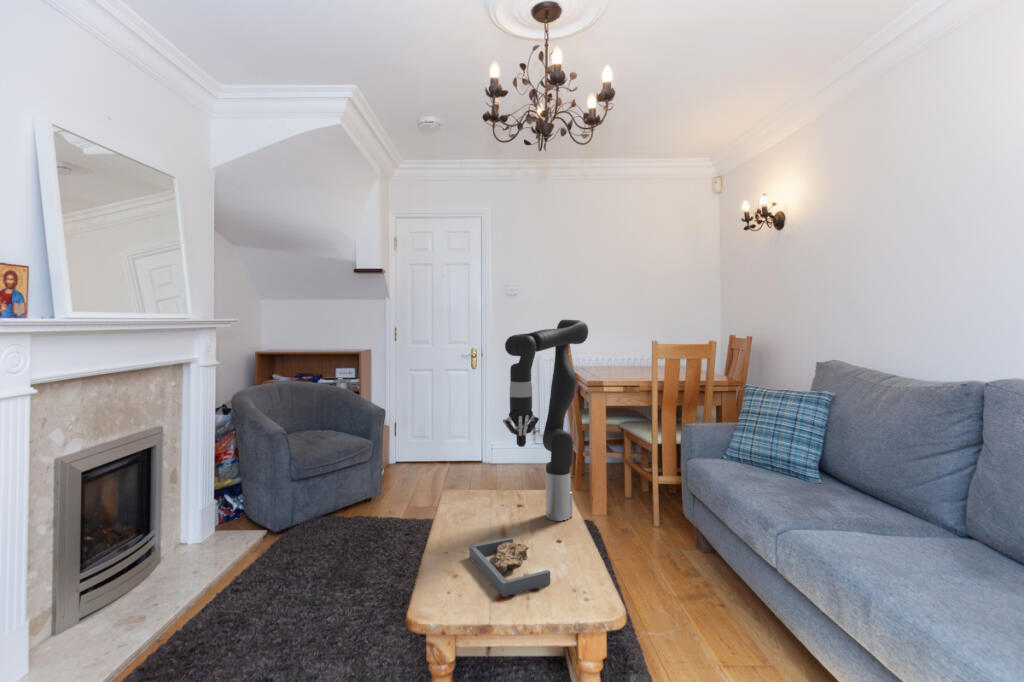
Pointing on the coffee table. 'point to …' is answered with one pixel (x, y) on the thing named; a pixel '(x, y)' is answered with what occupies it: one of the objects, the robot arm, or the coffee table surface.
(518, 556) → the rock
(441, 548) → the coffee table surface
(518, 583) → the bracket
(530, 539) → the coffee table surface
